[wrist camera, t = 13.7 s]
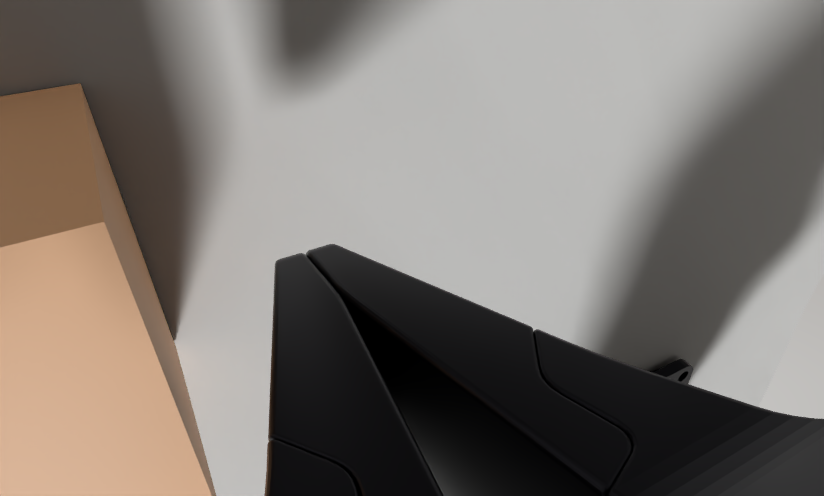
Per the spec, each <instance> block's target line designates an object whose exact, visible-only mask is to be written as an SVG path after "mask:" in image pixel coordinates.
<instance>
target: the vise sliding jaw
mask: <svg viewBox="0 0 824 496" xmlns="http://www.w3.org/2000/svg"><path fill="white" fill-rule="evenodd" d="M0 496H216V493H215V489H214V486H213V482H212V478H211V475H210V471H209V467H208V464H207V460H206V456H205V453H204V449H203V445H202V442H201V438H200V434H199V431H198V427H197V423H196V420H195V416H194V412H193V409H192V405H191V401H190V397H189V394H188V390H187V386H186V383H185V379H184V375H183V372H182V368H181V364H180V361H179V357H178V353H177V350H176V346H175V343H174V341H173V338H172V335H171V332H170V330H169V327H168V324H167V321H166V319H165V316H164V313H163V310H162V307H161V305H160V302H159V299H158V296H157V294H156V291H155V288H154V285H153V283H152V280H151V277H150V274H149V272H148V269H147V266H146V263H145V260H144V258H143V255H142V252H141V249H140V247H139V244H138V241H137V238H136V236H135V233H134V230H133V227H132V224H131V222H130V219H129V216H128V213H127V211H126V208H125V205H124V202H123V200H122V197H121V194H120V191H119V189H118V186H117V183H116V180H115V177H114V175H113V172H112V169H111V166H110V164H109V161H108V158H107V155H106V153H105V150H104V147H103V144H102V141H101V139H100V136H99V133H98V130H97V128H96V125H95V122H94V119H93V117H92V114H91V111H90V108H89V106H88V103H87V100H86V97H85V94H84V92H83V89H82V86H81V83H79V84H73V85H67V86H60V87H54V88H48V89H42V90H36V91H30V92H24V93H18V94H12V95H6V96H0Z"/></svg>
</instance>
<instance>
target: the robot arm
mask: <svg viewBox="0 0 824 496" xmlns="http://www.w3.org/2000/svg"><path fill="white" fill-rule="evenodd" d="M692 372H693V367H692V366H691V365H690V364H689V363H687V362H686V361H685V360H684V359H679V360H677V361H675V362H673V363H671V364H669V365H667V366H665V367H663V368H661V369H659V370H657V371H655V372H653V373H652V372H649V371H646V370H643V369H640V368H637V367H634V366H632V365H629V364H626V363H623V362H620V361H617V360H614V359H611V358H609V357H606V356H603V355H600V354H598V353H595V352H593V351H590V350H587V349H585V348H582V347H580V346H577V345H575V344H572V343H570V342H567V341H565V340H562V339H560V338H557V337H555V336H553V335H550V334H548V333H545V332H543V331H541V330H538V329H537V330H535V331H534V332H533V328H532V327H531V326H528V325H526V324H524V323H521V322H519V321H516V320H514V319H512V318H509V317H507V316H504V315H502V314H500V313H497V312H495V311H493V310H490V309H488V308H485V307H483V306H481V305H478V304H476V303H473V302H471V301H469V300H466V299H464V298H462V297H459V296H457V295H454V294H452V293H450V292H447V291H445V290H443V289H440V288H438V287H435V286H433V285H431V284H428V283H426V282H423V281H421V280H419V279H416V278H414V277H412V276H409V275H407V274H404V273H402V272H400V271H397V270H395V269H393V268H390V267H388V266H385V265H383V264H381V263H378V262H376V261H373V260H371V259H369V258H366V257H364V256H362V255H359V254H357V253H354V252H352V251H350V250H347V249H345V248H343V247H340V246H338V245H335V244H329V245H326V246H322V247H319V248H316V249H312V250H309V251H308V252H307V253H306V255H305V254H303V253H299V254H296V255H292V256H289V257H286V258H282V259H279V260H277V261H276V263H275V279H274V305H273V331H272V357H271V383H270V409H269V435H268V439H269V443H268V449H267V473H266V486H265V496H824V419H814V418H806V417H798V416H792V415H787V414H782V413H778V412H773V411H770V410H766V409H763V408H760V407H756V406H753V405H750V404H747V403H744V402H741V401H738V400H734V399H731V398H728V397H725V396H722V395H719V394H716V393H713V392H710V391H707V390H704V389H701V388H698V387H695V386H692V385H689V384H688V383H689V380H690V377H691V375H692Z"/></svg>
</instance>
